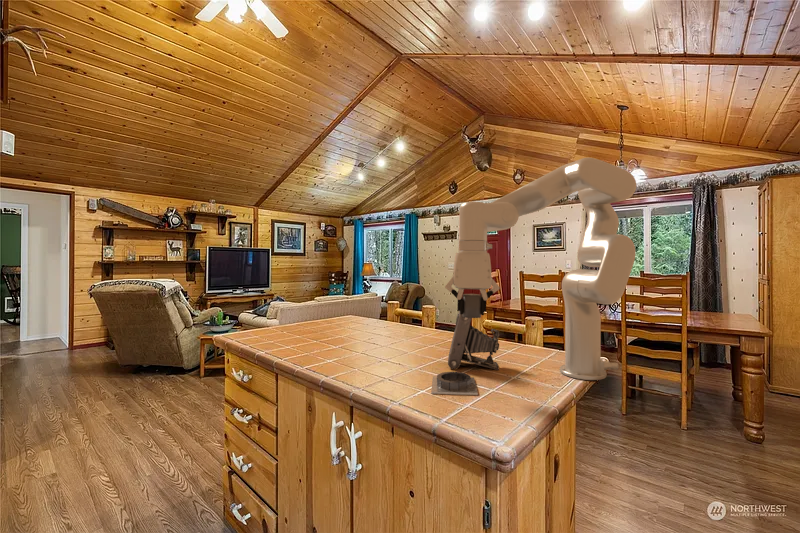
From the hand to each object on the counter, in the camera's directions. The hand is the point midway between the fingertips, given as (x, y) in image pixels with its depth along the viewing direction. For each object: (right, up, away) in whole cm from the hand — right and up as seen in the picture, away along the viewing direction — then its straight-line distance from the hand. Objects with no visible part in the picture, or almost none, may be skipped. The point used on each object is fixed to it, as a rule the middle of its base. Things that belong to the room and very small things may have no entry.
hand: (471, 313), depth 98 cm
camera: (+5, -20, +20) cm, 29 cm away
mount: (-5, -20, +1) cm, 21 cm away
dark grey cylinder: (0, -1, 0) cm, 1 cm away
